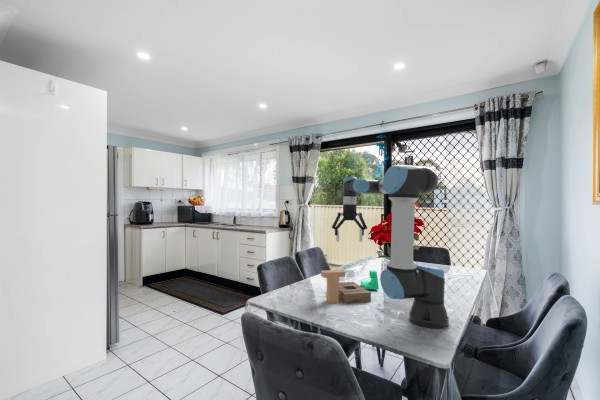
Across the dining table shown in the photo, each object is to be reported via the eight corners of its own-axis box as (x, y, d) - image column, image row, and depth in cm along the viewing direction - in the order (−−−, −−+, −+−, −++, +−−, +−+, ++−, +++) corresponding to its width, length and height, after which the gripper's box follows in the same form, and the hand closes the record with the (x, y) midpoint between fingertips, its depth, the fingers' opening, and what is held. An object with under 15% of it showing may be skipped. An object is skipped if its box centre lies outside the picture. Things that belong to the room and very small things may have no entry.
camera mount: (360, 285, 173) (360, 268, 173) (372, 285, 173) (373, 268, 173) (365, 291, 161) (365, 272, 161) (378, 291, 161) (378, 273, 161)
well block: (370, 301, 143) (370, 292, 143) (345, 303, 139) (345, 294, 139) (353, 289, 162) (353, 281, 162) (330, 291, 159) (330, 283, 159)
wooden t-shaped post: (344, 302, 141) (345, 271, 141) (323, 303, 138) (324, 272, 139) (340, 299, 146) (341, 269, 146) (320, 300, 143) (321, 270, 143)
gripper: (368, 204, 168) (367, 240, 168) (327, 203, 165) (326, 240, 165) (373, 204, 161) (372, 242, 161) (329, 203, 158) (329, 242, 157)
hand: (349, 241), depth 163 cm, fingers open, 13 cm apart
